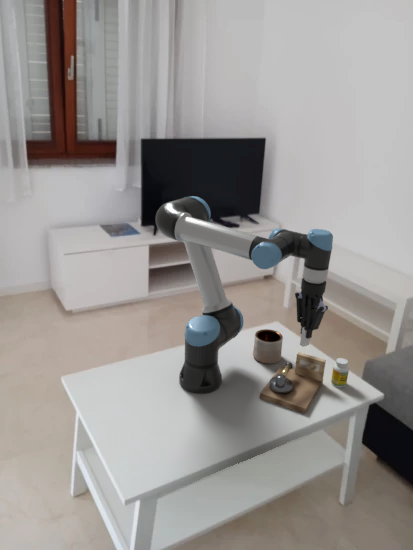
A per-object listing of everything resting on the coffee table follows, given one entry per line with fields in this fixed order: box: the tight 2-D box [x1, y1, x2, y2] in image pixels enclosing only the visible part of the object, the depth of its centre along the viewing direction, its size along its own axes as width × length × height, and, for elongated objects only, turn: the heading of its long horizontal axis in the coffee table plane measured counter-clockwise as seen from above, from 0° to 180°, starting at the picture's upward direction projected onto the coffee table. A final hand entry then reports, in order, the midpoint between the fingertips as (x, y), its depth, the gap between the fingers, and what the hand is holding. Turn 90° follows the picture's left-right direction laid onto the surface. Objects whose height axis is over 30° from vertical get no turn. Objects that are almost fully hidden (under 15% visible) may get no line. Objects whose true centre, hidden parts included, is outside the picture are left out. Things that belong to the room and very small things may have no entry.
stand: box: [259, 351, 326, 414], centre depth 164 cm, size 16×20×10 cm
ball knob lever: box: [268, 361, 294, 394], centre depth 164 cm, size 13×8×6 cm, turn 153°
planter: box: [252, 328, 284, 365], centre depth 184 cm, size 11×11×10 cm
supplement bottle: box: [330, 357, 350, 389], centre depth 169 cm, size 5×5×10 cm
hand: (304, 344), depth 156 cm, fingers closed
